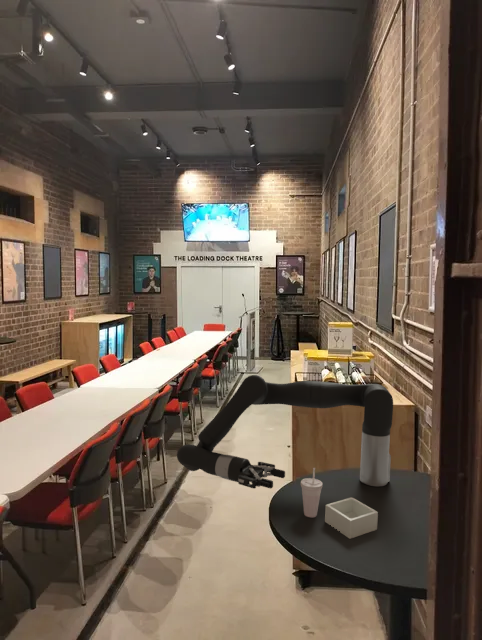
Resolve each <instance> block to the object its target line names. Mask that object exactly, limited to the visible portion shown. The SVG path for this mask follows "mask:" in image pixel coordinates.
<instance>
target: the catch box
mask: <svg viewBox="0 0 482 640" xmlns="http://www.w3.org/2000/svg"><path fill="white" fill-rule="evenodd" d="M324 509H325V513H324V514H325V516H324V522H325V523H326V524H327V525H329V526H330V525H331V527H332V528H333V527H334V528H333V529H334V530H336V529H337V530H336V531H338V532H339V531H340V532H339V533H340V534H342V535H343V536H345V537H346V538H348V539H354V538H356V537H359V536H362V535H364V534H368V533H371V532H374V531H377V530H378V520H379V519H378V518H379V517H378V516H379V514H378V513H379V512H378V511H377V510H375V509H373V508H372V507H370V506H368V505H366V504H365V503H364V502H361V501H359V500H358V499H356V498H354V497H347V498H344V499H341V500H338V501H334V502H331V503H327V504H325V508H324Z"/></svg>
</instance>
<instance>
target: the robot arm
mask: <svg viewBox="0 0 482 640" xmlns="http://www.w3.org/2000/svg"><path fill="white" fill-rule="evenodd" d="M252 405H255V406H258V405H284V406H285V405H286V406H290V407H291V406H293V407H301V408H307V409H308V408H309V409H332V408H338V407H341V406H343V407H344V406H355V407H361V408H364V412H363V422H362V424H361V425H362V426H361V427H362V429H361V446H360V448H361V449H360V467H359V481H360V482H361V483H362V484H365V485H367V486H371V487H384V486H386V485H388V482H390V480H391V477H390V476H391V463H392V462H391V460H392V455H391V454H390V439H391V437H390V436H391V428H392V426H393V416H394V398H393V395H392V394H391V393H390V391H389V390H388V388H386V386H384V385H382V384H378V383H368V384H367V383H366V384H365V383H364V384H346V383H338V382H329V381H320V380H319V381H317V380H301V381H299V380H298V381H293V382H288V383H275V382H267V381H266V380H265V379H264V378H263V377H262V376H260V375H257V374H253V375H252V374H251V375H248V376H247V377H245V378H244V379H243V381H242V382H241V383H240V385H239V386H238V388H237V390H236V391H235V392H234V394H233V396H232V397H231V398H230V400H229V401H228V402H227V403H226V404H225V406H224V407H223V408H222V409H221V410H220V411H219V412H218V413H217V414H216V415H215V416H214V417H213V418H212V420H210V422H209V423H207V424H206V426H205V427H204V428H203V429H202V430H201V431H200V432H199V433H198V436H197V438H198V440H199V442H198V444H197V445H194V444H191V443H190V444H183V445H182V446H180V447H179V448H178V450H177V451H176V458H177V461H178V463H179V464H181V465H182V467H184V468H185V469H187V470H188V471H191V472H196V471H198V470H201V471H203V472H204V473H206V474H208V475H209V474H210V475H212V476H216V477H219V478H221V479H224V480H228V481H232V482H235V483H238V485H241V486H243V487H244V486H245V487H247V488H251V489H256V488H257V487H258V488H260V487H263V488H267V489H273V487H274V480H272V479H267V478H268V477H269V476H270V477H272V476H273V477H276V478H281V479H284V478H286V471H285V470H282V469H278V468H276V465H275V464H273V463H267V462H263V461H258V462H257V464H251V462H250V460H249V459H247V458H245V457H241V456H236V455H231V454H224V453H220V452H215V451H214V449H215V448H216V447H217V445H219V444H220V442H221V441H222V440H223V439H224V438H225V437H227V435H228V433H229V432H230V431H231V429H232V428H233V427H234V425H235V424H236V422H237V421H238V419H239V418H240V417H241V415H242V414H243V413H244V412H245V411H246V410H247V409H248V408H249V407H251V406H252Z"/></svg>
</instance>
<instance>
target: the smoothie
mask: <svg viewBox="0 0 482 640" xmlns="http://www.w3.org/2000/svg"><path fill="white" fill-rule="evenodd" d="M315 477H316V467H312V477H308V478H307V477H306V478H303V479H301V481H300V487H301V494H302V504H303V505H302V506H303V514H304V516H305V517H307V518H316V517H317V516H318V511H319V510H318V509H319V503H320V498H321V493H322V488H323V487H324V486H323V482H322V481H321V480H319V479H317V478H315Z"/></svg>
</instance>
